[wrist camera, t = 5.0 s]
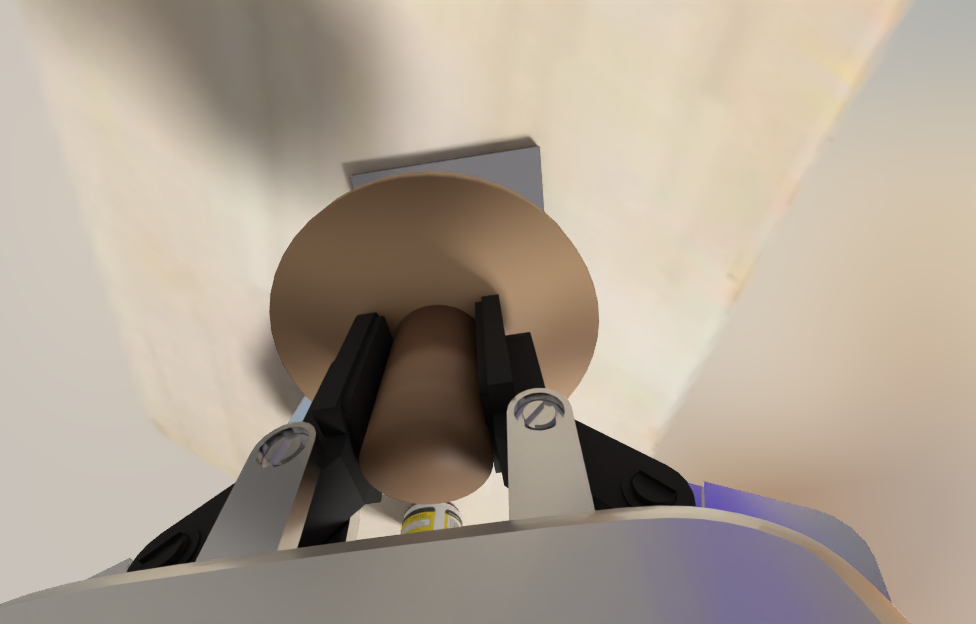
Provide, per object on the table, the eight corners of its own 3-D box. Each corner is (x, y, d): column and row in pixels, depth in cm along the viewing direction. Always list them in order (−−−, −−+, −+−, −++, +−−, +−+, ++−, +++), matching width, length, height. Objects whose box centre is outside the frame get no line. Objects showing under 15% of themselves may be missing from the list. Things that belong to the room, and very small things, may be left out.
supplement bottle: (396, 528, 35) (372, 665, 26) (413, 493, 33) (392, 630, 24) (451, 539, 36) (444, 673, 27) (471, 505, 34) (470, 640, 25)
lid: (219, 201, 10) (16, 288, 5) (592, 144, 10) (702, 187, 5) (342, 450, 15) (291, 601, 11) (590, 416, 15) (644, 557, 10)
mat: (353, 174, 20) (349, 176, 20) (537, 145, 20) (539, 146, 19) (399, 331, 25) (398, 336, 24) (549, 310, 24) (551, 314, 24)
